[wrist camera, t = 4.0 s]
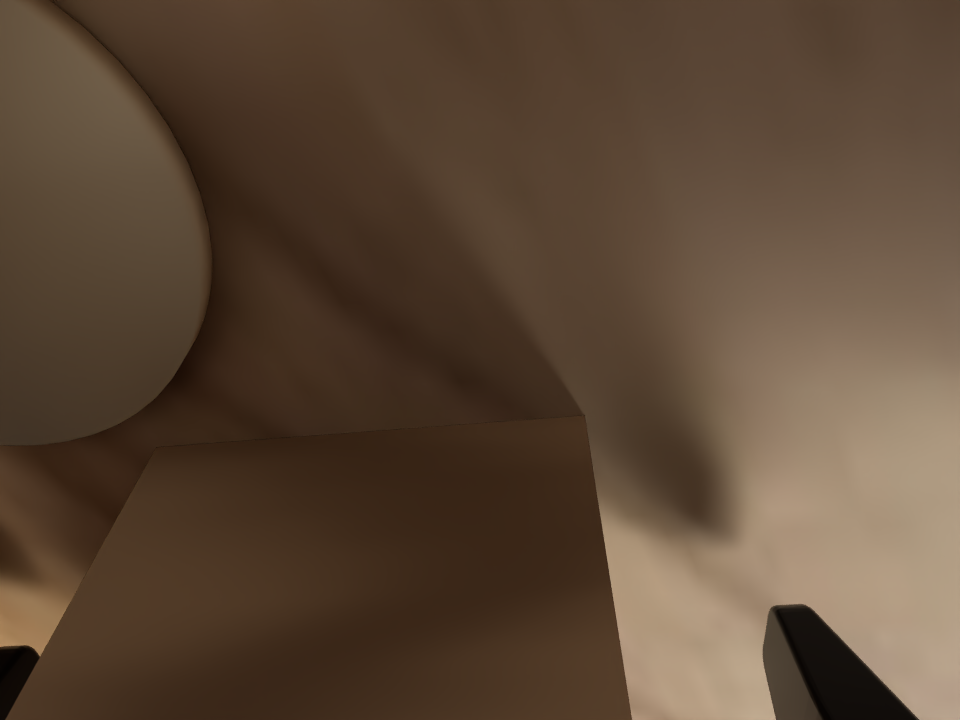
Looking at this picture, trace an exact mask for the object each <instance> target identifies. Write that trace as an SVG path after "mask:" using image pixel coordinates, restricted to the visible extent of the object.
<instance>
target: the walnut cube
mask: <svg viewBox="0 0 960 720" xmlns="http://www.w3.org/2000/svg"><path fill="white" fill-rule="evenodd" d="M5 720H632V717H631V710H630V704H629V697H628V691H627V685H626V678H625V672H624V665H623V659H622V653H621V646H620V640H619V633H618V627H617V620H616V614H615V608H614V601H613V595H612V588H611V582H610V575H609V569H608V563H607V556H606V550H605V543H604V537H603V531H602V524H601V518H600V511H599V505H598V498H597V492H596V486H595V479H594V473H593V466H592V460H591V453H590V447H589V441H588V434H587V428H586V421H585V415H583V416H570V417H557V418H543V419H530V420H516V421H503V422H489V423H476V424H462V425H449V426H436V427H422V428H409V429H395V430H382V431H368V432H355V433H341V434H328V435H314V436H301V437H288V438H274V439H261V440H247V441H234V442H220V443H207V444H193V445H180V446H167V447H156V449H155V451H154V452H153V454H152V456H151V458H150V460H149V461H148V463H147V465H146V467H145V469H144V470H143V472H142V474H141V476H140V478H139V479H138V481H137V483H136V485H135V487H134V488H133V490H132V492H131V494H130V496H129V498H128V499H127V501H126V503H125V505H124V507H123V508H122V510H121V512H120V514H119V516H118V517H117V519H116V521H115V523H114V525H113V526H112V528H111V530H110V532H109V534H108V535H107V537H106V539H105V541H104V543H103V544H102V546H101V548H100V550H99V552H98V553H97V555H96V557H95V559H94V561H93V562H92V564H91V566H90V568H89V570H88V572H87V573H86V575H85V577H84V579H83V581H82V582H81V584H80V586H79V588H78V590H77V591H76V593H75V595H74V597H73V599H72V600H71V602H70V604H69V606H68V608H67V609H66V611H65V613H64V615H63V617H62V618H61V620H60V622H59V624H58V626H57V627H56V629H55V631H54V633H53V635H52V636H51V638H50V640H49V642H48V644H47V645H46V647H45V649H44V651H43V653H42V655H41V656H40V658H39V660H38V662H37V664H36V665H35V667H34V669H33V671H32V673H31V674H30V676H29V678H28V680H27V682H26V683H25V685H24V687H23V689H22V691H21V692H20V694H19V696H18V698H17V700H16V701H15V703H14V705H13V707H12V709H11V710H10V712H9V714H8V716H7V718H6V719H5Z"/></svg>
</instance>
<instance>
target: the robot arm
mask: <svg viewBox="0 0 960 720" xmlns="http://www.w3.org/2000/svg"><path fill="white" fill-rule="evenodd" d="M39 658H40V656H39V655H38V653H37V652H36V651H35V650H34V649H33V648H32V647H30V646H26V645H23V646H4V647H0V720H5V719H6V718H7V716H8V714H9V712H10V710H11V709H12V707H13V705H14V703H15V701H16V700H17V698H18V696H19V694H20V692H21V691H22V689H23V687H24V685H25V683H26V682H27V680H28V678H29V676H30V674H31V673H32V671H33V669H34V667H35V665H36V664H37V662H38V660H39ZM763 662H764V668H765V673H766V677H767V682H768V686H769V690H770V695H771V699H772V703H773V708H774V712H775V716H776V720H919V719H918V718H917V717H916V716H915V715H914V714H913V713H912V712H911V711H910V710H909V709H908V708H907V707H906V706H905V705H904V704H903V703H902V702H901V700H900V699H899V698H898V697H897V696H896V695H895V694H894V693H893V692H892V691H891V690H890V689H889V688H888V687H887V686H886V685H885V684H884V683H883V682H882V681H881V680H880V679H879V678H878V677H877V676H876V675H875V674H874V673H873V671H872V670H871V669H870V668H869V667H868V666H867V665H866V664H865V663H864V662H863V661H862V660H861V659H860V658H859V657H858V656H857V655H856V654H855V653H854V652H853V651H852V650H851V649H850V648H849V647H848V646H847V645H846V643H845V642H844V641H843V640H842V639H841V638H840V637H839V636H838V635H837V634H836V633H835V632H834V631H833V630H832V629H831V628H830V627H829V626H828V625H827V624H826V623H825V622H824V621H823V620H822V619H821V618H820V617H819V616H818V614H817V613H816V612H815V611H814V610H813V609H811V608H810V607H808V606H806V605H803V604H793V605H776V606H773V607H772V608H771V609H770V611H769V614H768V619H767V626H766V632H765V638H764V644H763Z"/></svg>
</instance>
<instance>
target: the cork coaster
mask: <svg viewBox="0 0 960 720" xmlns="http://www.w3.org/2000/svg"><path fill="white" fill-rule="evenodd" d="M211 287H212V249H211V241H210V232H209V226H208V222H207V218H206V214H205V210H204V206H203V202H202V198H201V195H200V192H199V190H198V187H197V184H196V182H195V179H194V177H193V174H192V172H191V169H190V167H189V164H188V162H187V160H186V158H185V156H184V154H183V152H182V150H181V149H180V147H179V145H178V143H177V141H176V139H175V137H174V136H173V134H172V132H171V130H170V128H169V126H168V125H167V123H166V122H165V121H164V119H163V118H162V116H161V115H160V113H159V112H158V110H157V109H156V107H155V106H154V104H153V103H152V102H151V100H150V99H149V97H148V96H147V94H146V93H145V92H144V90H143V89H142V88H141V87H140V86H139V85H138V83H137V82H136V81H135V80H134V79H133V78H132V76H131V75H130V74H129V73H128V72H127V70H126V69H125V68H124V67H123V66H122V65H121V63H120V62H119V61H118V60H117V59H116V58H115V57H114V56H113V55H112V54H111V53H110V52H109V51H108V50H107V49H106V48H105V47H104V46H103V45H102V44H101V43H100V42H99V41H98V40H96V39H95V38H94V37H93V36H92V35H91V34H90V33H89V32H88V31H87V30H86V29H85V28H84V27H83V26H82V25H80V24H79V23H78V22H76V21H75V20H74V19H73V18H71V17H70V16H69V15H68V14H66V13H65V12H64V11H62V10H61V9H60V8H59V7H57V6H56V5H55V4H54V3H52V2H51V1H50V0H0V445H6V446H21V445H44V444H51V443H59V442H66V441H70V440H74V439H78V438H82V437H86V436H90V435H93V434H96V433H98V432H101V431H103V430H106V429H108V428H111V427H113V426H116V425H117V424H119V423H121V422H123V421H124V420H126V419H128V418H129V417H131V416H133V415H135V414H136V413H138V412H139V411H140V410H141V409H143V408H144V407H145V406H146V405H148V404H149V403H150V402H151V401H152V400H154V399H155V398H156V397H157V396H158V395H159V394H160V392H161V391H162V390H163V389H164V388H165V387H166V385H167V384H168V383H169V382H170V381H171V380H172V378H173V377H174V375H175V373H176V372H177V370H178V368H179V367H180V365H181V363H182V362H183V360H184V358H185V357H186V355H187V353H188V352H189V350H190V348H191V346H192V345H193V343H194V341H195V340H196V338H197V336H198V334H199V331H200V328H201V326H202V323H203V320H204V318H205V315H206V312H207V307H208V302H209V297H210V292H211Z"/></svg>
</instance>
